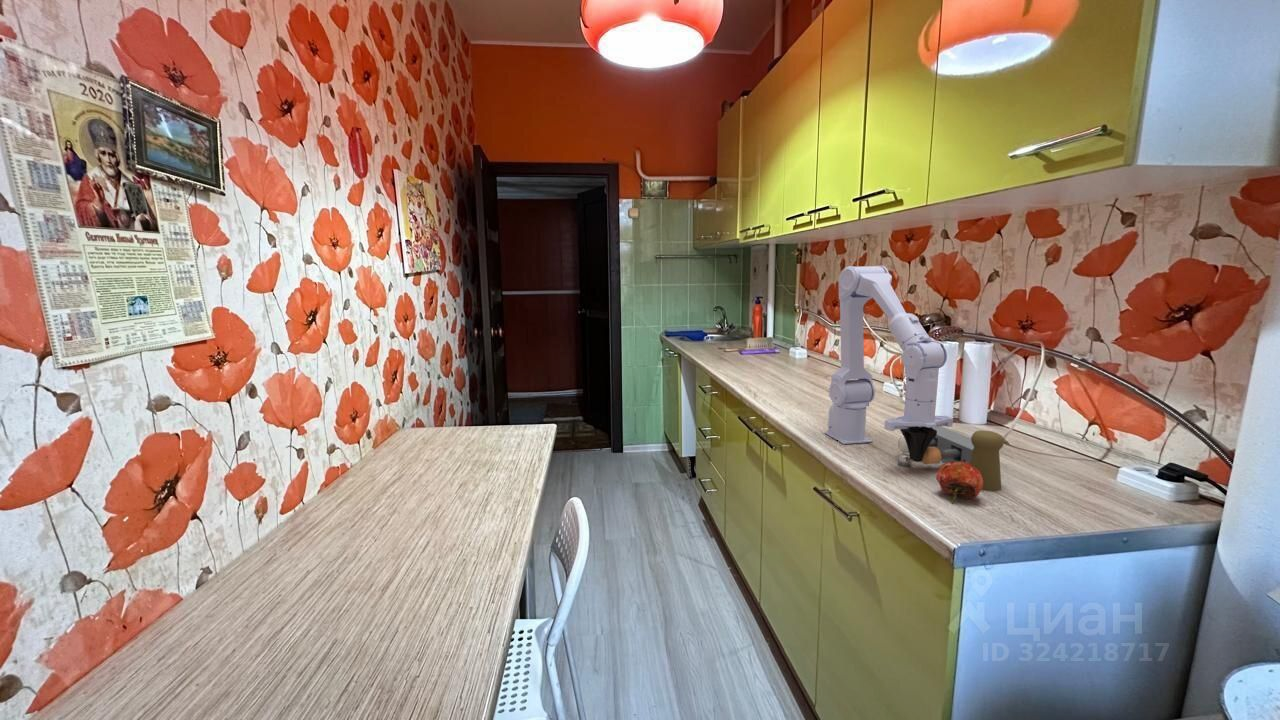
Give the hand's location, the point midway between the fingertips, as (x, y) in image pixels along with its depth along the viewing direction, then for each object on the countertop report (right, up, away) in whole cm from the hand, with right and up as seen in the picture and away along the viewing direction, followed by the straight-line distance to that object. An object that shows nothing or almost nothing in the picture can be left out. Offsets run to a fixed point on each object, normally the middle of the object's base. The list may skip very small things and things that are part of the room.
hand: (915, 460), depth 106 cm
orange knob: (+7, -1, +1) cm, 7 cm away
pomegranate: (+1, -5, -12) cm, 13 cm away
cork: (+9, -4, -7) cm, 12 cm away
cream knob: (+6, 0, +8) cm, 10 cm away
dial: (0, -2, +4) cm, 4 cm away
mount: (+12, -1, +6) cm, 13 cm away
